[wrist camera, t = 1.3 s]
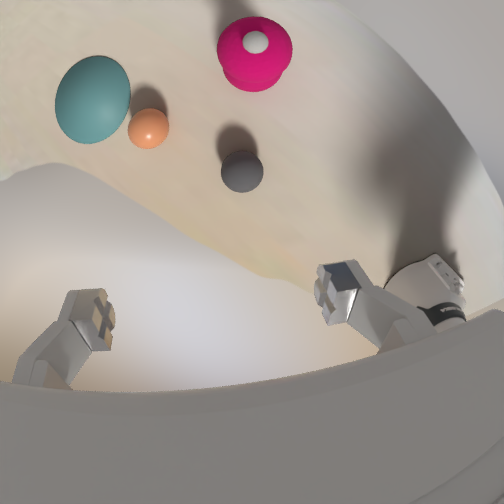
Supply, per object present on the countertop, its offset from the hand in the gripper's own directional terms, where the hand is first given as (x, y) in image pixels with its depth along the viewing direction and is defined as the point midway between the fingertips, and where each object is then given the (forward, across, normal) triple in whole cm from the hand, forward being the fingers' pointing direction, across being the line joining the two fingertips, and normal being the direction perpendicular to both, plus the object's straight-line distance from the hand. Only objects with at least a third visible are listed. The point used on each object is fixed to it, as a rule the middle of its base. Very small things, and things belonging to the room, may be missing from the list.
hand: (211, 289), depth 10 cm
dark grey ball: (+28, +5, -6) cm, 29 cm away
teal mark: (+36, -17, +6) cm, 40 cm away
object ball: (+31, -7, 0) cm, 31 cm away
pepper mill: (+32, +7, +8) cm, 34 cm away
